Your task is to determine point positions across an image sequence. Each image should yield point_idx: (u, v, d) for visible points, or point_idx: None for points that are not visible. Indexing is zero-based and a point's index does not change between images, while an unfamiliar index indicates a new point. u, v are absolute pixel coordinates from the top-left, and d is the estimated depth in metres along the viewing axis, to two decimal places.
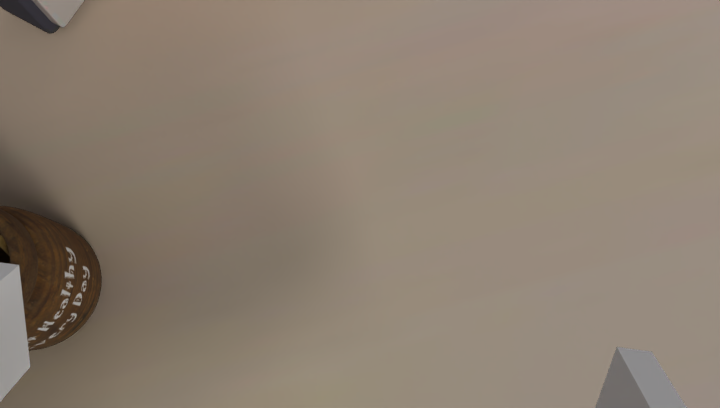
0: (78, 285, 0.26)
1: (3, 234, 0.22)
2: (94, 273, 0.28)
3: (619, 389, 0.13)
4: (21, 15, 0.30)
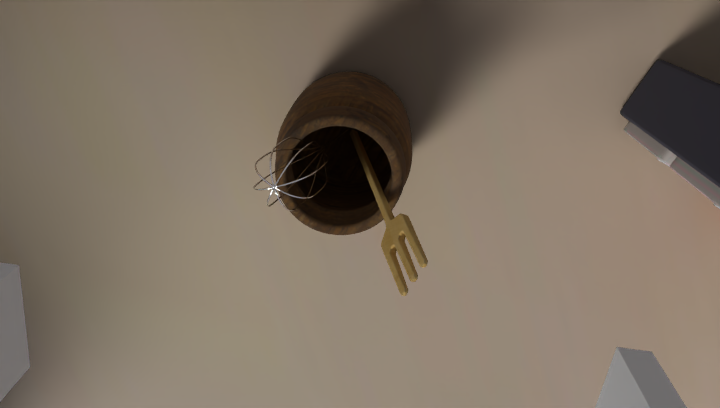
0: None
1: (372, 218, 0.24)
2: (358, 194, 0.30)
3: (619, 389, 0.13)
4: (641, 92, 0.28)
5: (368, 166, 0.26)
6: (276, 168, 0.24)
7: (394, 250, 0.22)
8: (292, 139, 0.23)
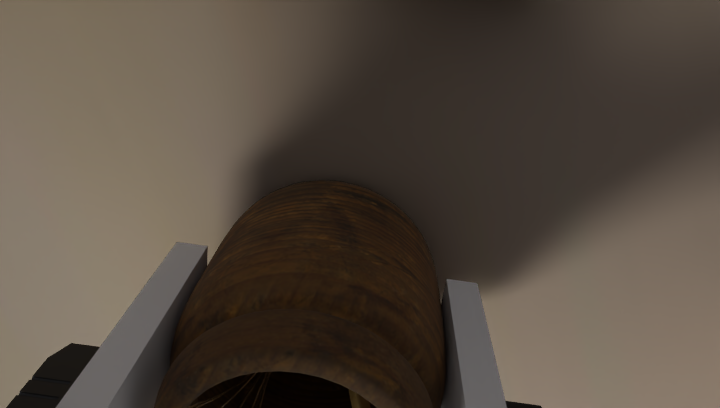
0: None
1: None
2: (343, 391, 0.17)
3: (444, 314, 0.14)
4: None
5: None
6: None
7: None
8: (178, 396, 0.10)
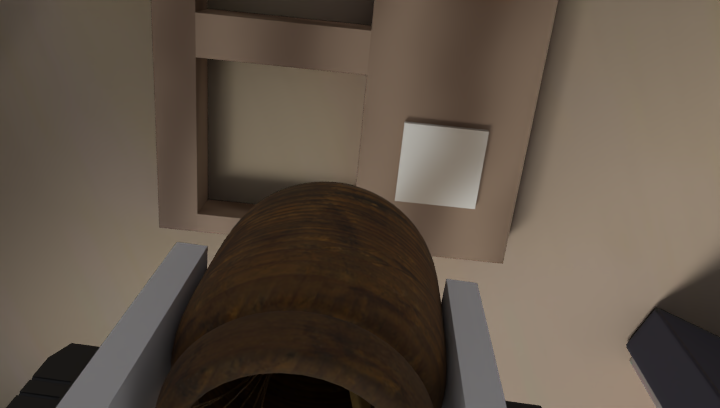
0: None
1: None
2: (343, 393, 0.17)
3: (444, 314, 0.14)
4: (643, 337, 0.34)
5: None
6: None
7: None
8: (179, 398, 0.10)
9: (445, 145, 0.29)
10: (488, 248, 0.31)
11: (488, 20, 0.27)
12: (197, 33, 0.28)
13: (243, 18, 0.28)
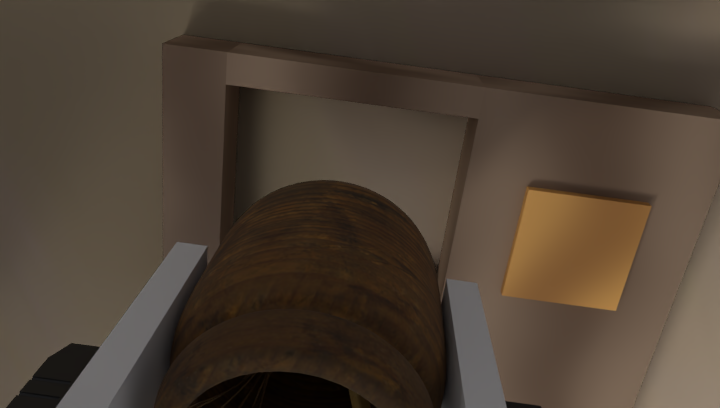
0: None
1: None
2: (343, 392, 0.17)
3: (444, 314, 0.14)
4: None
5: None
6: None
7: None
8: (178, 396, 0.10)
9: None
10: None
11: (580, 327, 0.22)
12: None
13: None
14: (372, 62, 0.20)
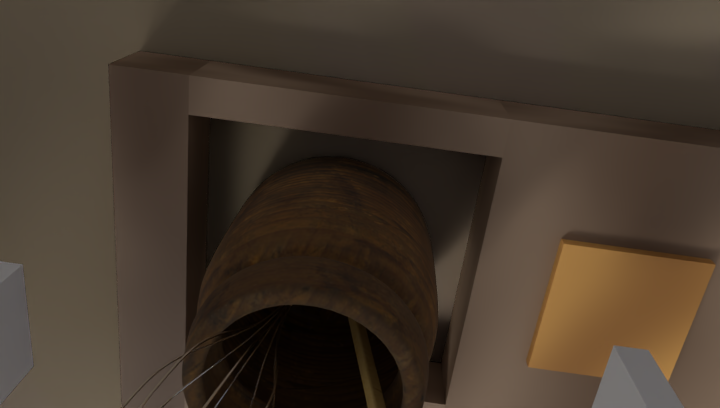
0: None
1: None
2: (346, 348, 0.19)
3: (616, 387, 0.13)
4: None
5: (360, 337, 0.15)
6: (183, 372, 0.12)
7: None
8: (210, 326, 0.12)
9: None
10: None
11: None
12: None
13: None
14: (371, 85, 0.17)
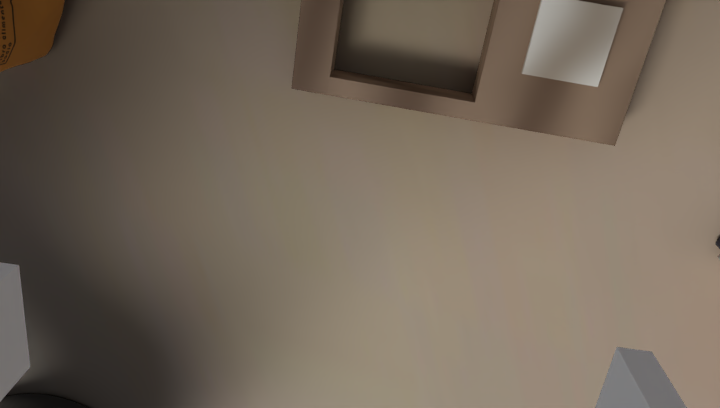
0: None
1: None
2: None
3: (619, 389, 0.13)
4: None
5: None
6: None
7: None
8: None
9: (579, 19, 0.31)
10: (603, 129, 0.33)
11: None
12: None
13: None
14: None
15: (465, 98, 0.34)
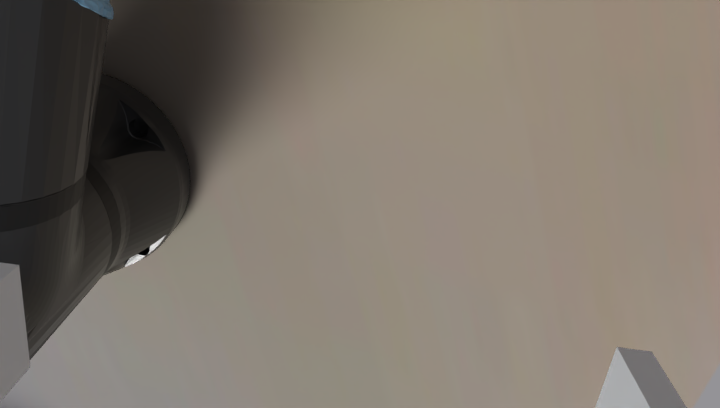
0: None
1: None
2: None
3: (619, 389, 0.13)
4: None
5: None
6: None
7: None
8: None
9: None
10: None
11: None
12: None
13: None
14: None
15: None
